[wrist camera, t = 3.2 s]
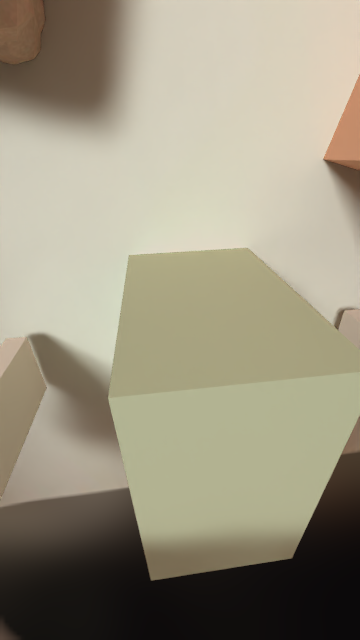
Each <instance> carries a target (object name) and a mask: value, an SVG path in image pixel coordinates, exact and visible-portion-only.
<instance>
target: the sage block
mask: <svg viewBox="0 0 360 640" xmlns="http://www.w3.org/2000/svg"><path fill="white" fill-rule="evenodd" d="M108 401H109V405H110V409H111V413H112V417H113V422H114V426H115V430H116V434H117V439H118V443H119V447H120V451H121V455H122V460H123V464H124V468H125V472H126V477H127V481H128V485H129V489H130V493H131V497H132V502H133V506H134V510H135V515H136V519H137V523H138V527H139V531H140V536H141V540H142V544H143V549H144V553H145V557H146V561H147V565H148V570H149V574H150V578H151V581H152V580H158V579H165V578H171V577H177V576H183V575H189V574H196V573H202V572H208V571H214V570H221V569H227V568H233V567H240V566H246V565H252V564H258V563H264V562H270V561H277V560H283V559H290V558H292V556H293V554H294V552H295V550H296V548H297V546H298V544H299V541H300V540H301V537H302V535H303V533H304V531H305V529H306V527H307V525H308V523H309V521H310V519H311V516H312V514H313V512H314V510H315V508H316V506H317V504H318V502H319V500H320V498H321V495H322V493H323V491H324V489H325V487H326V485H327V483H328V481H329V479H330V477H331V475H332V472H333V470H334V468H335V466H336V464H337V462H338V460H339V457H340V456H341V454H342V451H343V449H344V447H345V445H346V443H347V441H348V439H349V437H350V435H351V433H352V431H353V428H354V426H355V424H356V422H357V420H358V418H359V416H360V350H359V349H358V348H357V347H356V346H355V345H354V344H353V343H352V342H351V341H349V340H348V339H347V338H346V337H345V336H344V335H343V334H342V333H341V332H340V331H338V330H337V329H336V328H335V327H334V326H333V325H332V324H331V323H330V322H329V321H327V320H326V319H325V318H324V317H323V316H322V315H321V314H320V313H319V312H318V311H316V310H315V309H314V308H313V307H312V306H311V305H310V304H309V303H308V302H306V301H305V300H304V299H303V298H302V297H301V296H300V295H299V294H298V293H297V292H295V291H294V290H293V289H292V288H291V287H290V286H289V285H288V284H287V283H286V282H284V281H283V280H282V279H281V278H280V277H279V276H278V275H277V274H276V273H275V272H273V271H272V270H271V269H270V268H269V267H268V266H267V265H266V264H265V263H264V262H262V261H261V260H260V259H259V258H258V257H257V256H256V255H255V254H254V253H253V252H251V251H250V250H249V249H248V248H237V249H221V250H205V251H189V252H173V253H157V254H141V255H129V258H128V265H127V272H126V279H125V285H124V292H123V299H122V306H121V313H120V319H119V326H118V333H117V340H116V347H115V353H114V360H113V367H112V374H111V381H110V387H109V394H108Z"/></svg>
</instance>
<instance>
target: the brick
mask: <svg viewBox="0 0 360 640" xmlns="http://www.w3.org/2000/svg"><path fill="white" fill-rule="evenodd" d="M44 23H45V13H44V6H43V0H0V62H5V63H9V64H18V63H22V62H26V61H30V60H33V59H34V58H35V57H36V56H37V54H38V53H39V52H40V49H41V32H42V29H43V27H44Z"/></svg>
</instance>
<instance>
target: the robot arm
mask: <svg viewBox="0 0 360 640" xmlns="http://www.w3.org/2000/svg"><path fill="white" fill-rule="evenodd" d="M338 331H340V332H341V333H342V334H343V335H344V336H345V337H346V338H347V339H348V340H349V341H351V342H352V343H353V344H354V345H355V346H356V347H357V348H358V349H359V350H360V309H356V310H344V313H343V316H342V319H341V322H340V325H339V328H338ZM46 388H47V387H46V385H45V382H44V379H43V377H42V374H41V372H40V369H39V367H38V364H37V362H36V359H35V356H34V354H33V351H32V349H31V346H30V344H29V341H28V339H27V337H19V338H7V339H6V340H5V341H4V342H3V344H2V345H1V346H0V499H1V497H2V494H3V492H4V490H5V487H6V485H7V482H8V480H9V478H10V475H11V473H12V470H13V468H14V466H15V463H16V461H17V458H18V456H19V454H20V451H21V449H22V446H23V444H24V441H25V439H26V437H27V434H28V432H29V429H30V427H31V425H32V422H33V420H34V417H35V415H36V413H37V410H38V408H39V405H40V403H41V401H42V398H43V396H44V393H45V391H46Z"/></svg>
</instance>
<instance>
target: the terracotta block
mask: <svg viewBox="0 0 360 640" xmlns="http://www.w3.org/2000/svg"><path fill="white" fill-rule="evenodd" d="M324 160H327V161H331V162H334V163H337V164H340V165H343V166H346V167H350V168H353V169H356V170H359V171H360V75H359V77H358V80H357V82H356V84H355V87H354V89H353V91H352V94H351V96H350V98H349V101H348V103H347V105H346V108H345V110H344V112H343V115H342V117H341V119H340V121H339V124H338V126H337V128H336V131H335V133H334V135H333V138H332V140H331V142H330V145H329V147H328V149H327V152H326V154H325V156H324Z"/></svg>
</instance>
